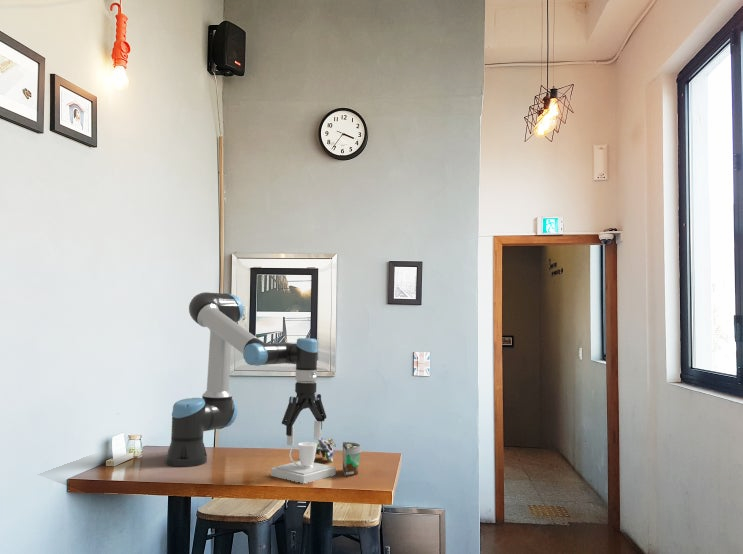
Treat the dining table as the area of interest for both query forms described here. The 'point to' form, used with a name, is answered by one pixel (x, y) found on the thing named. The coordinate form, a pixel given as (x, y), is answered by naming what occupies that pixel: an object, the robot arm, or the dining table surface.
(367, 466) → the dining table surface
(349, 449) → the food container
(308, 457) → the cup
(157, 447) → the dining table surface
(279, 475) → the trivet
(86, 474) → the dining table surface
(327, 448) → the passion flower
